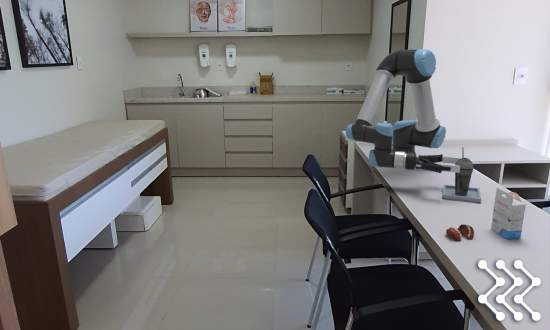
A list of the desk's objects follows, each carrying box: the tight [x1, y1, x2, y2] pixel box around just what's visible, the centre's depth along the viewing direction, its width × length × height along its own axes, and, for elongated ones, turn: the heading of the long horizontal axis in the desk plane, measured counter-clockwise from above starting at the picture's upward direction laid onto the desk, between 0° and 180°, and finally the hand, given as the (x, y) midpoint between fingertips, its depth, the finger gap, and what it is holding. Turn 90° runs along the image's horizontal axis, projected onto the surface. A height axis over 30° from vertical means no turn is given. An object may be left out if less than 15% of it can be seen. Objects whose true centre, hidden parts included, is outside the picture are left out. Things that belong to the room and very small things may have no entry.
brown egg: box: [507, 191, 522, 202], centre depth 149 cm, size 7×5×5 cm
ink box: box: [490, 187, 527, 240], centre depth 126 cm, size 9×5×15 cm, turn 5°
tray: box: [442, 184, 482, 204], centre depth 163 cm, size 14×14×2 cm
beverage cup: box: [454, 147, 475, 196], centre depth 160 cm, size 7×7×20 cm
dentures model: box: [445, 223, 475, 242], centre depth 126 cm, size 6×4×8 cm
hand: (459, 164), depth 161 cm, fingers open, 13 cm apart
